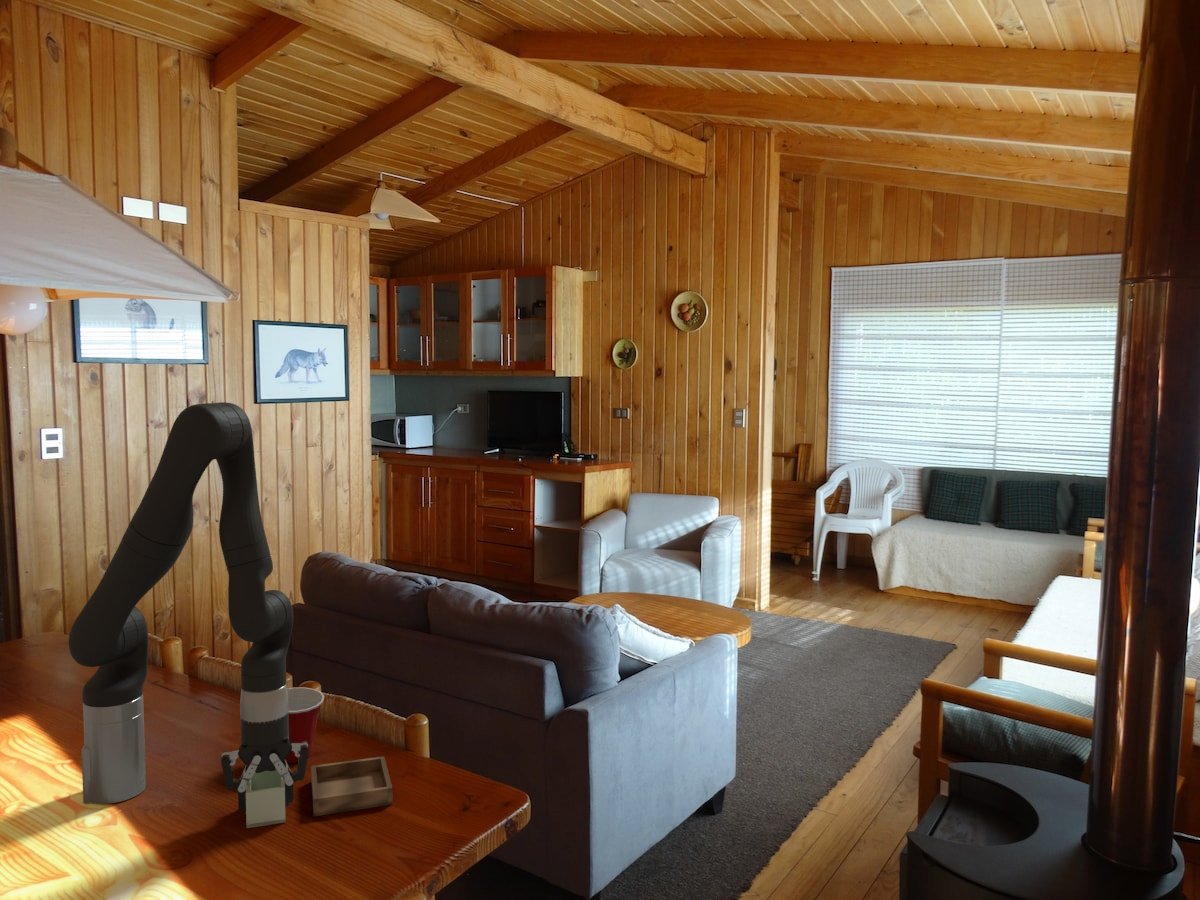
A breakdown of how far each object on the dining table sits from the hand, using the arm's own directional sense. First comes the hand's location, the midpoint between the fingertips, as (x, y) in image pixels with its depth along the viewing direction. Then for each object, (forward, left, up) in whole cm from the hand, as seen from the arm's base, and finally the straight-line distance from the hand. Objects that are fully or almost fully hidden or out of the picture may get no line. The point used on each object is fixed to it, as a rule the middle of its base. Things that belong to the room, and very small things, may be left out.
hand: (266, 807), depth 147 cm
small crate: (0, 0, -1) cm, 1 cm away
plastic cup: (+5, +21, -1) cm, 22 cm away
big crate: (+14, +3, -1) cm, 14 cm away
